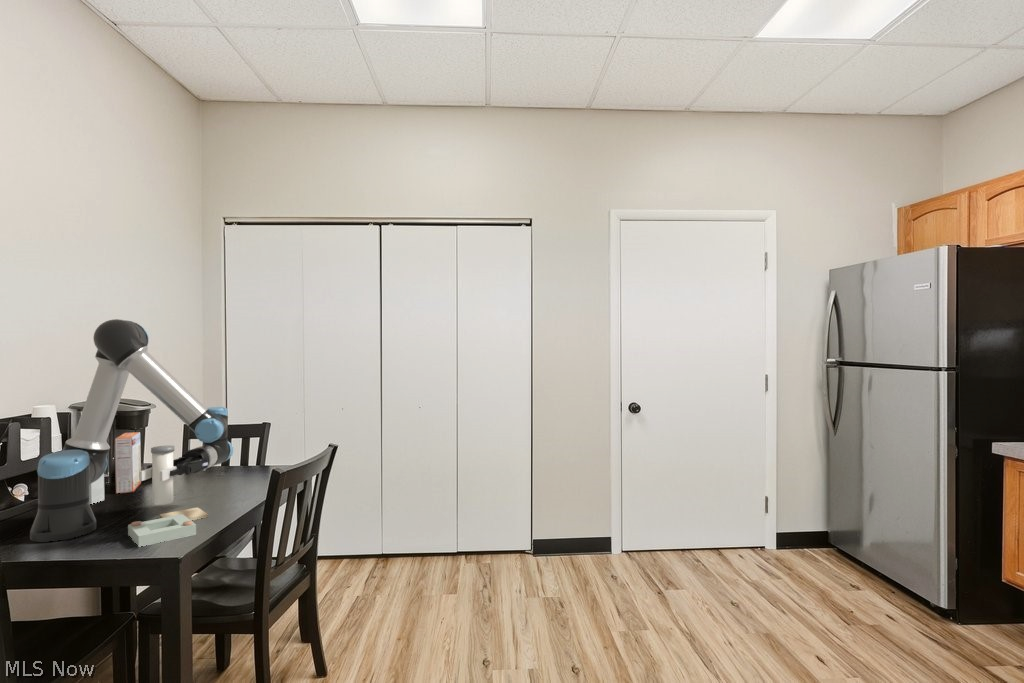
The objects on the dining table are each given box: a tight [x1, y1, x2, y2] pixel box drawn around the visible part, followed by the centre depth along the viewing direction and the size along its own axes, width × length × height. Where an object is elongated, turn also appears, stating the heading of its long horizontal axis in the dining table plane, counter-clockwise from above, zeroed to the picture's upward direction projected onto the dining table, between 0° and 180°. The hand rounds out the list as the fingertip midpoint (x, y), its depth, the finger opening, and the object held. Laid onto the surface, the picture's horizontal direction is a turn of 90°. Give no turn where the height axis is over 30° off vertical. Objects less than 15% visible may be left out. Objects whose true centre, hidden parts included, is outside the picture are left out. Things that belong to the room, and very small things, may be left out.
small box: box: [89, 473, 105, 505], centre depth 195 cm, size 8×6×10 cm
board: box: [159, 507, 209, 521], centre depth 177 cm, size 11×11×1 cm
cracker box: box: [114, 431, 142, 494], centre depth 213 cm, size 14×6×21 cm, turn 23°
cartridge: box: [150, 445, 175, 506], centre depth 161 cm, size 6×6×16 cm
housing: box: [127, 514, 197, 548], centre depth 160 cm, size 14×14×4 cm
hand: (150, 476), depth 156 cm, fingers closed on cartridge, 5 cm apart
